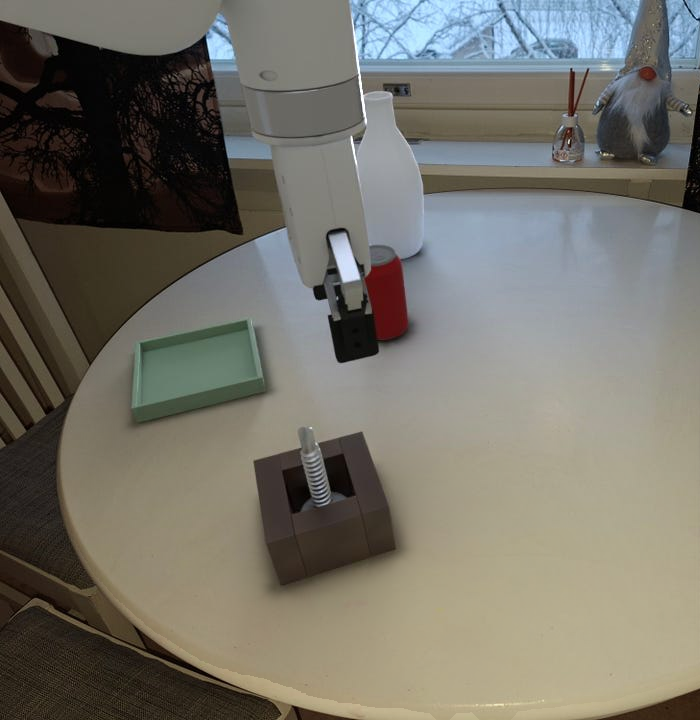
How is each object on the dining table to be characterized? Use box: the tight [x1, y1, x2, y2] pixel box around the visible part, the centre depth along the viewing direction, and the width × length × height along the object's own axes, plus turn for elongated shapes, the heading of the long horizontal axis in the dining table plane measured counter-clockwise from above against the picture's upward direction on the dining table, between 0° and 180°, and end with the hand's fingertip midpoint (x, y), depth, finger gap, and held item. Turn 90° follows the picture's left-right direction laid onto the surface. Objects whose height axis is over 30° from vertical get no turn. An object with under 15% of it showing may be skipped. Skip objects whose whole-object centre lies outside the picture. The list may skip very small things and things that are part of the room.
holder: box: [252, 431, 397, 586], centre depth 66 cm, size 11×11×6 cm
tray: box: [130, 317, 267, 424], centre depth 89 cm, size 15×15×2 cm
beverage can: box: [364, 245, 409, 341], centre depth 92 cm, size 7×7×12 cm
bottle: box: [355, 90, 425, 260], centre depth 109 cm, size 11×11×25 cm
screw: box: [297, 426, 347, 512], centre depth 64 cm, size 13×5×5 cm
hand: (345, 324), depth 55 cm, fingers open, 9 cm apart
